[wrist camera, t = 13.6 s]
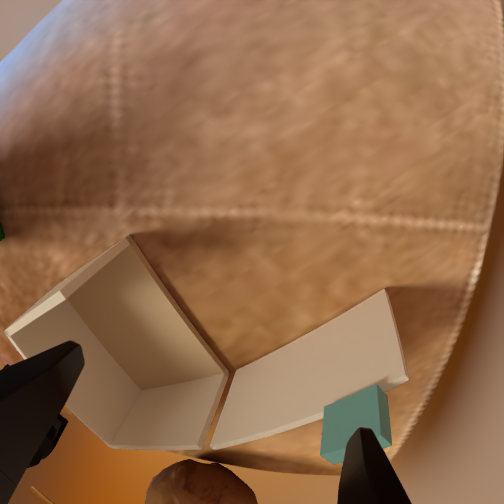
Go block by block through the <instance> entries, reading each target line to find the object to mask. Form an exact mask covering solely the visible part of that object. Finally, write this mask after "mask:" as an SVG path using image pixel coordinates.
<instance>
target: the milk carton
mask: <svg viewBox="0 0 504 504" xmlns="http://www.w3.org/2000/svg"><path fill="white" fill-rule="evenodd" d="M2 239H4V235H3V231H2V228H1V224H0V241H1V240H2Z"/></svg>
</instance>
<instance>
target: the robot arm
mask: <svg viewBox="0 0 504 504" xmlns="http://www.w3.org/2000/svg"><path fill="white" fill-rule="evenodd" d="M84 365H85V359H84V355H83V351H82V347H81V345H80V344H78V343H76V342H74V341H72V340H69V341H66V342H64V343H62V344H59V345H57V346H55V347H52V348H50V349H48V350H46V351H43V352H41V353H39V354H36V355H34V356H32V357H30V358H27V359H25V360H23V361H20V362H18V363H16V364H13V365H11V366H9V365H8V364H7V365H6V366H5V367H4V368H3V369H2V370H0V504H8V502H9V500H10V498H11V497H12V495H13V493H14V491H15V489H16V487H17V485H18V483H19V481H20V479H21V478H22V476H23V474H24V472H25V470H26V469H27V468H29V467H32V466H35V465H37V464H39V462H40V461H41V460H42V459H45V458H46V457H47V456H48V455H49V454H50V453H51V452H52V450H53V449H54V447H55V446H56V444H57V442H58V440H59V438H60V436H61V435H62V433H63V431H64V429H65V427H66V425H67V423H68V420H67V419H66V418H64V417H63V416H61V415H60V414H59V413H60V412H61V410H62V408H63V407H64V405H65V403H66V402H67V400H68V398H69V396H70V394H71V392H72V390H73V388H74V386H75V384H76V382H77V380H78V378H79V376H80V374H81V372H82V370H83V368H84ZM337 504H412V503H411V501H410V500H409V498H408V496H407V494H406V492H405V490H404V488H403V486H402V484H401V483H400V480H399V479H398V477H397V475H396V473H395V471H394V469H393V467H392V465H391V464H390V461H389V460H388V458H387V456H386V454H385V452H384V450H383V448H382V447H381V445H380V443H379V441H378V439H377V437H376V435H375V433H374V432H373V430H372V429H371V428H366V427H359V428H357V430H356V431H355V432H354V433H353V435H352V436H351V437H350V438H349V440H348V442H347V445H346V450H345V456H344V461H343V467H342V472H341V478H340V483H339V490H338V503H337Z"/></svg>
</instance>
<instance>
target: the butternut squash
mask: <svg viewBox="0 0 504 504" xmlns="http://www.w3.org/2000/svg"><path fill="white" fill-rule="evenodd" d="M145 504H258V503H257V500H256V496H255V494H254V492H253V491H252V489H251V488H250V487H249V486H248V485H247V484H245V483H244V482H243V481H242V480H241V479H240V478H239V477H238V476H236V475H235V474H234V473H233V472H232V471H231V470H229V469H228V468H226V467H224V466H222V465H221V464H219V463H211V464H205V463H200V462H197V461H194V460H191V459H187V460H183V461H180V462H177V463H175V464H173V465H171V466H169V467H167V468H165V469H163V470H162V471H161V472H160V473H159V474H158V475H157V476H155V477H154V478H153V479H152V481H151V484H150V486H149V488H148V490H147V496H146V501H145Z"/></svg>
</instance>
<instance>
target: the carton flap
mask: <svg viewBox="0 0 504 504" xmlns="http://www.w3.org/2000/svg"><path fill="white" fill-rule="evenodd" d="M408 380H409V376H408V371H407V367H406V362H405V358H404V353H403V349H402V345H401V341H400V337H399V333H398V329H397V325H396V321H395V318H394V314H393V310H392V307H391V303H390V299H389V296H388V293H387V292H386V290H385V289H382V290H381V291H379V292H378V293H376V294H374V295H373V296H371V297H370V298H368V299H366V300H365V301H363V302H361V303H360V304H358V305H356V306H355V307H353V308H351V309H350V310H348V311H346V312H345V313H343V314H341V315H339V316H338V317H336V318H334V319H333V320H331V321H329V322H327V323H325V324H324V325H322V326H320V327H318V328H317V329H315V330H313V331H311V332H309V333H308V334H306V335H304V336H302V337H300V338H298V339H296V340H295V341H293V342H291V343H289V344H287V345H285V346H283V347H281V348H279V349H278V350H276V351H274V352H272V353H270V354H268V355H266V356H264V357H262V358H260V359H258V360H256V361H254V362H252V363H250V364H248V365H246V366H244V367H242V368H239V369H237V370H236V372H235V375H234V378H233V381H232V384H231V387H230V390H229V393H228V395H227V398H226V401H225V404H224V407H223V410H222V412H221V415H220V418H219V421H218V424H217V427H216V429H215V432H214V435H213V438H212V441H211V443H210V446H209V447H211V448H212V449H214V450H217V449H222V448H226V447H230V446H234V445H238V444H242V443H246V442H250V441H253V440H257V439H261V438H264V437H267V436H271V435H274V434H277V433H281V432H284V431H287V430H290V429H293V428H296V427H299V426H302V425H305V424H308V423H311V422H313V421H316V420H319V419H322V418H323V428H322V440H321V451H320V456H322V457H323V458H325V459H326V460H328V461H329V462H331V463H332V464H338V463H341V462H343V461H344V456H345V450H346V445H347V442H348V440H349V438H350V437H351V436H352V435H353V433H354V432H355V431H356V430H357V428H359V427H366V428H371V429H372V430H373V432H374V433H375V435H376V437H377V439H378V441H379V443H380V445H381V447H382V448H386V447H389V446H391V445H392V439H391V428H390V417H389V408H388V399H387V395H386V394H385V393H384V392H386V391H388V390H390V389H392V388H394V387H396V386H398V385H400V384H402V383H404V382H406V381H408Z"/></svg>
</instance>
